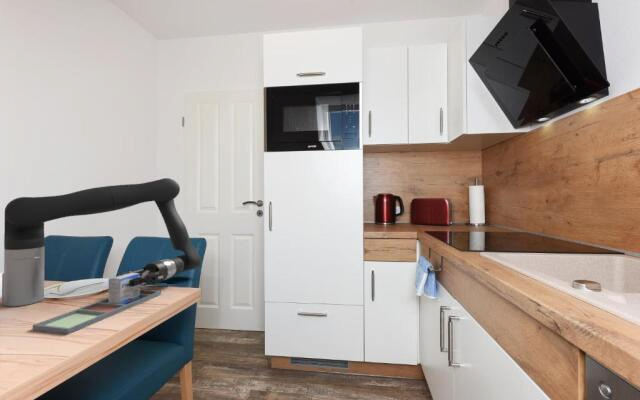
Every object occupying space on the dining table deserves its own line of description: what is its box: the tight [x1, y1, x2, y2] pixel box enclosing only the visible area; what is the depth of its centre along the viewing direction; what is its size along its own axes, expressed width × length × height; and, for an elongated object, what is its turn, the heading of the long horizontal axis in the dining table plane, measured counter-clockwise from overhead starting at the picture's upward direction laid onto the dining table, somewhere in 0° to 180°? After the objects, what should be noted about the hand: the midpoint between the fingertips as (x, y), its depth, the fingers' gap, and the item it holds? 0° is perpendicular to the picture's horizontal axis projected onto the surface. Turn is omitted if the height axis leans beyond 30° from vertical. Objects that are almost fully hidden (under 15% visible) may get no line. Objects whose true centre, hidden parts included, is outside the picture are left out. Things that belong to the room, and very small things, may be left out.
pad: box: [46, 313, 100, 328], centre depth 82 cm, size 10×11×1 cm
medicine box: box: [108, 273, 141, 305], centre depth 98 cm, size 8×4×9 cm, turn 168°
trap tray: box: [32, 289, 162, 335], centre depth 92 cm, size 11×32×1 cm, turn 169°
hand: (122, 282), depth 97 cm, fingers open, 5 cm apart
